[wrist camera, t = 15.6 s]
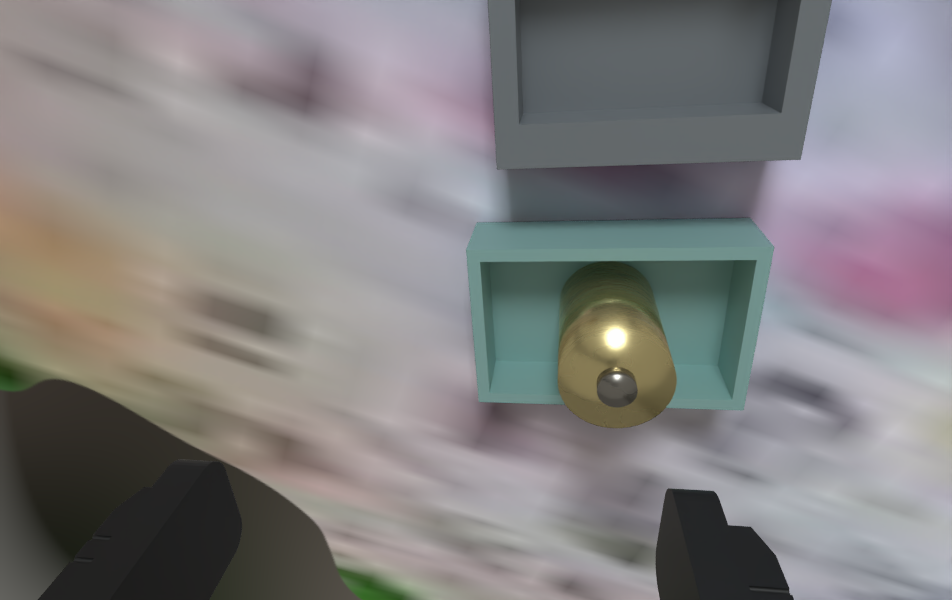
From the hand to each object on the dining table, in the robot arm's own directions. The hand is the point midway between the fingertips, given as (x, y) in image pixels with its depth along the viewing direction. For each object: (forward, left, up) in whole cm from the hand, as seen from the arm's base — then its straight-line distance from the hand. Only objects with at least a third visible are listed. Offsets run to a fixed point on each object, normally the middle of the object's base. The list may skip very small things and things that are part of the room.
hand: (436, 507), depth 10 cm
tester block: (+5, +7, -20) cm, 22 cm away
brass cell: (+4, -6, -20) cm, 21 cm away
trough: (+4, -6, -20) cm, 22 cm away
